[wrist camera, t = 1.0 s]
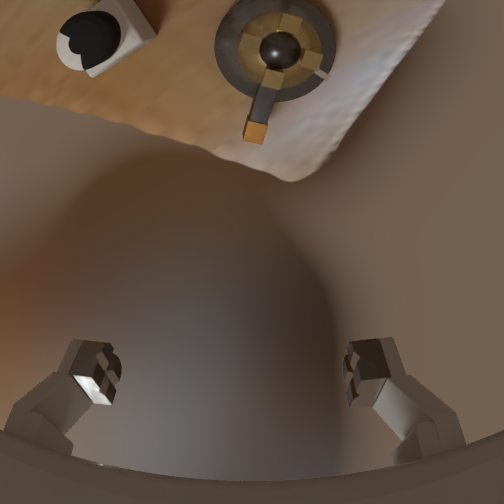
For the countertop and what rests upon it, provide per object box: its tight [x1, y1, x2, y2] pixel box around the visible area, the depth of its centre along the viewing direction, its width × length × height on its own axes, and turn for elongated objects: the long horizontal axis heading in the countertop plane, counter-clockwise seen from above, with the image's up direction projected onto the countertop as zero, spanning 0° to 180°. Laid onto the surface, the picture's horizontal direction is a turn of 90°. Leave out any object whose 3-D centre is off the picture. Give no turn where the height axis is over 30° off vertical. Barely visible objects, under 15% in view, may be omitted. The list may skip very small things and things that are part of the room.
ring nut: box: [237, 12, 323, 145], centre depth 32 cm, size 16×9×4 cm, turn 165°
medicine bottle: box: [56, 0, 156, 77], centre depth 25 cm, size 7×7×12 cm
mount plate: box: [215, 0, 336, 102], centre depth 32 cm, size 14×14×3 cm
